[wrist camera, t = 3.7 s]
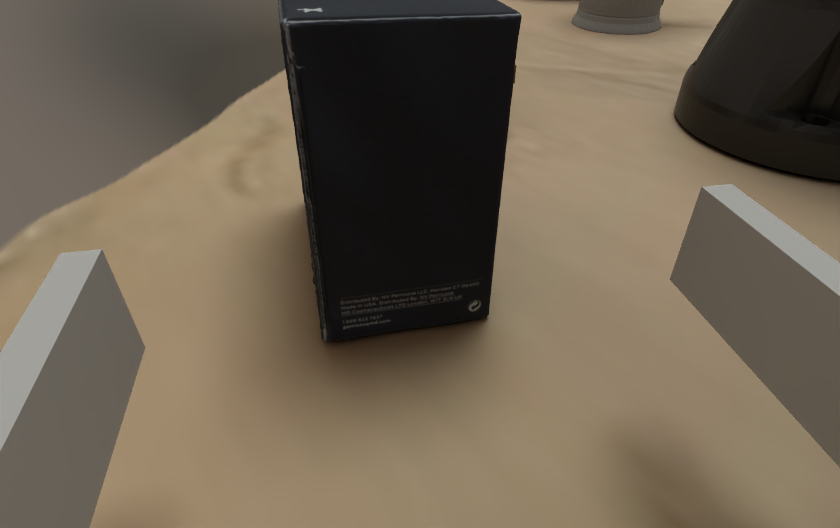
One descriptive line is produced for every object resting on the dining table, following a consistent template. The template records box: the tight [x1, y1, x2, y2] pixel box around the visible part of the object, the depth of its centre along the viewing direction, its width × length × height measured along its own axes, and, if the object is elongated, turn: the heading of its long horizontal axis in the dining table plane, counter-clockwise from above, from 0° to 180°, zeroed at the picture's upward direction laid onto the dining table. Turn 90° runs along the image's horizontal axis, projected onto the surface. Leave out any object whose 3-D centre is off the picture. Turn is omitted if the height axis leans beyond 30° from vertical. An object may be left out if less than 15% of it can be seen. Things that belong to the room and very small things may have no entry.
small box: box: [278, 0, 521, 342], centre depth 20 cm, size 11×6×10 cm, turn 13°
